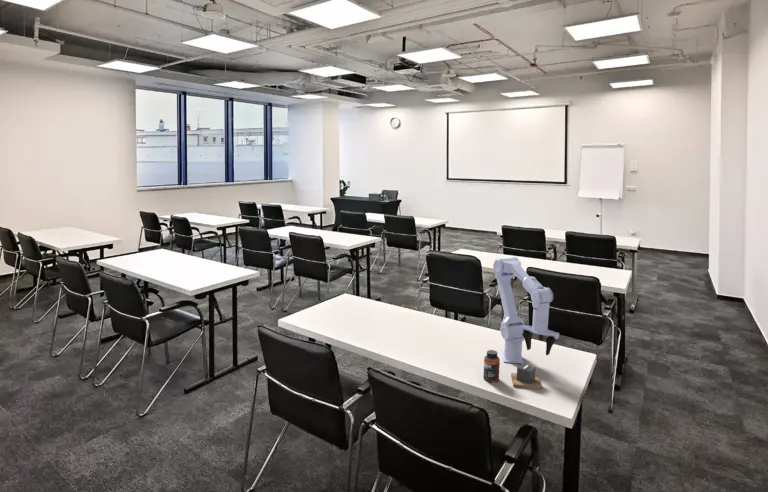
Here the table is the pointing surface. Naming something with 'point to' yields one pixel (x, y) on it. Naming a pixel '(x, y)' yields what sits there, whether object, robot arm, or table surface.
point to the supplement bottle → (491, 366)
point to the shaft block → (533, 385)
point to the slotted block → (526, 373)
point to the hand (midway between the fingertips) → (538, 351)
